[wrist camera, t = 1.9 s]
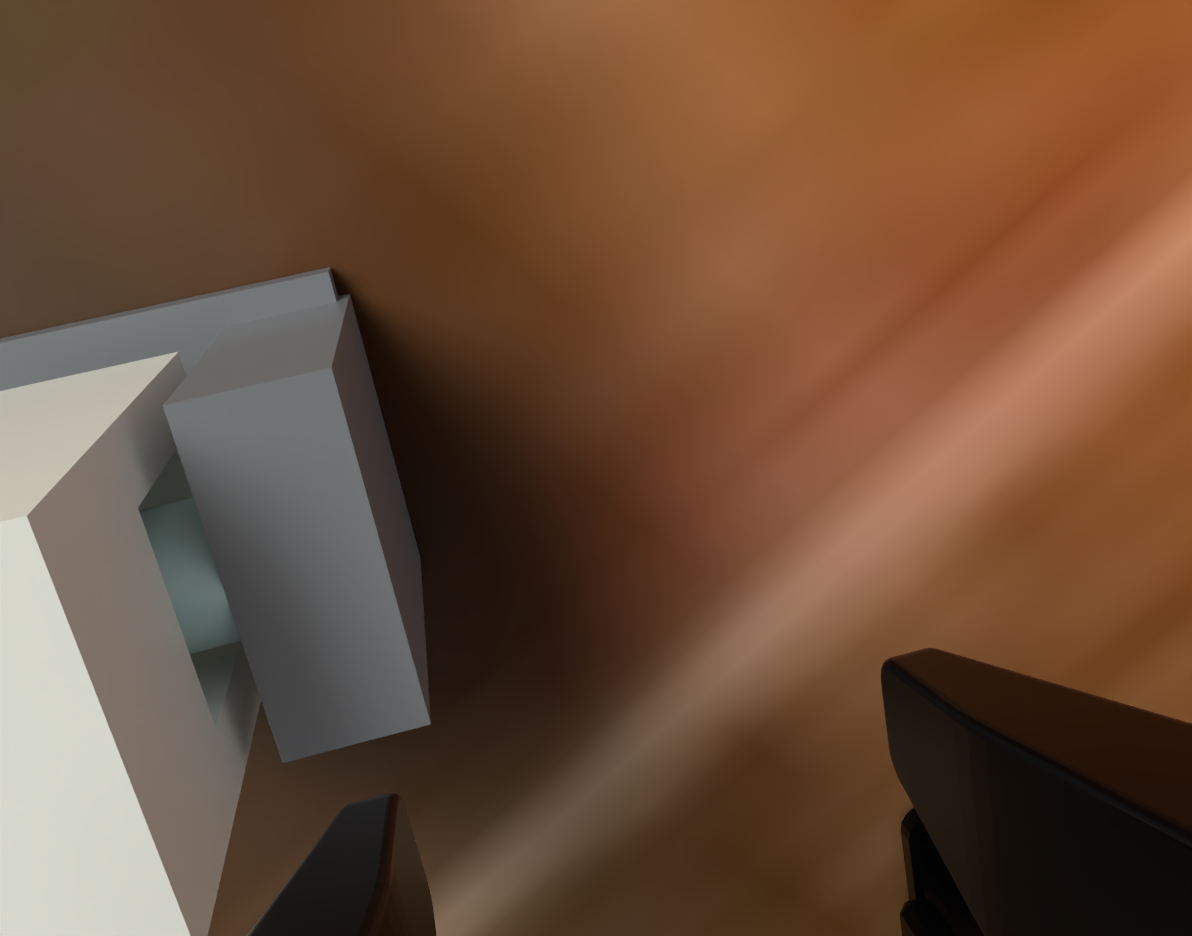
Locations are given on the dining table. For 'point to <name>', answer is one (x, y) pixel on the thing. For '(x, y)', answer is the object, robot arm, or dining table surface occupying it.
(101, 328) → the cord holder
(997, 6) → the dining table surface
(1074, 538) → the dining table surface
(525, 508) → the dining table surface
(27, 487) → the sleeve
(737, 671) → the dining table surface
